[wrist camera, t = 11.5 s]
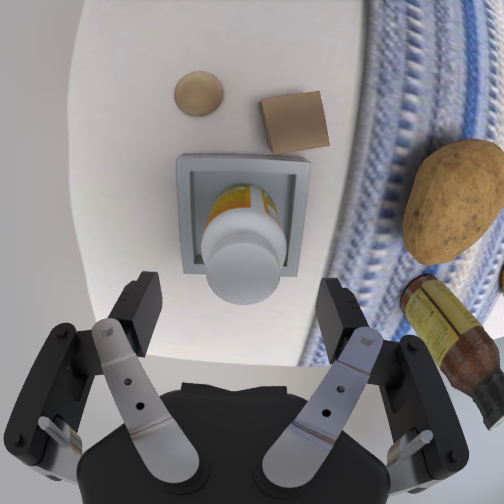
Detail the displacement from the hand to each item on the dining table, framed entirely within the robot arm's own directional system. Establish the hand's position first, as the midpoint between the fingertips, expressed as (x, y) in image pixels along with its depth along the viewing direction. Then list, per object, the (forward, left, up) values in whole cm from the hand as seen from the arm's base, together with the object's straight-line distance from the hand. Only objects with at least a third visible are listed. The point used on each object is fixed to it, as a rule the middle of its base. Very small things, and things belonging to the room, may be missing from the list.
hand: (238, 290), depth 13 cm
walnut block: (-8, +3, -12) cm, 15 cm away
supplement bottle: (0, 0, -11) cm, 11 cm away
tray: (0, 0, -12) cm, 12 cm away
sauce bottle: (+9, +22, -12) cm, 27 cm away
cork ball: (-10, -4, -10) cm, 15 cm away
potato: (-4, +19, -12) cm, 23 cm away
